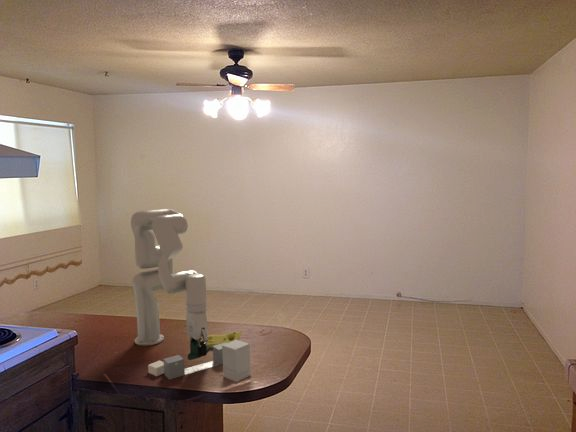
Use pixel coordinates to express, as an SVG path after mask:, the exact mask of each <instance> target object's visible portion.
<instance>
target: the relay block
mask: <svg viewBox="0 0 576 432" xmlns="http://www.w3.org/2000/svg"><path fill="white" fill-rule="evenodd" d="M147 368H148V374H149V375H153V376H155V377H158V376H160V375H162V374H163V375H164V362H163V361H162V360H160V359H159V360H157V361H154V362H152V363H150V364H148V365H147Z"/></svg>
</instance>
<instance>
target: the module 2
mask: <svg viewBox="0 0 576 432" xmlns="http://www.w3.org/2000/svg"><path fill="white" fill-rule="evenodd" d="M225 344H227V343H222V344H218V345H215V346H213V348H212V359H213V360H212V361H214V362H216V363H217V364H218V365H217V366H221V365H223V353H222V345H225ZM220 364H221V365H220Z"/></svg>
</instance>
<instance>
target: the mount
mask: <svg viewBox="0 0 576 432" xmlns="http://www.w3.org/2000/svg"><path fill="white" fill-rule="evenodd" d="M200 342H201V341H200ZM198 346H199V345H198V340H196V341H195V342H192V343H191V342H189V348H190V349H189V350H190V351H189V353H188V354H187V360H188V361H192V360H196V359H200V358H201V357H198ZM206 352H207V354H208V353H209V352H210V348H209V347H208V346H207V345H206Z"/></svg>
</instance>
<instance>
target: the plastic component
mask: <svg viewBox="0 0 576 432" xmlns="http://www.w3.org/2000/svg"><path fill="white" fill-rule="evenodd" d="M242 331H243V329H240V330H239V331H231V332H230V331H229V332H227V333H225V334H208V336H207V337H208V341H207V346H208V347H209V349H213V346H215V345H218V344H222V343H229V342H232V341H234V340H239V341H240V338H241V335H242ZM200 338H202V336H200ZM200 341H203V339H201V340H200Z"/></svg>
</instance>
